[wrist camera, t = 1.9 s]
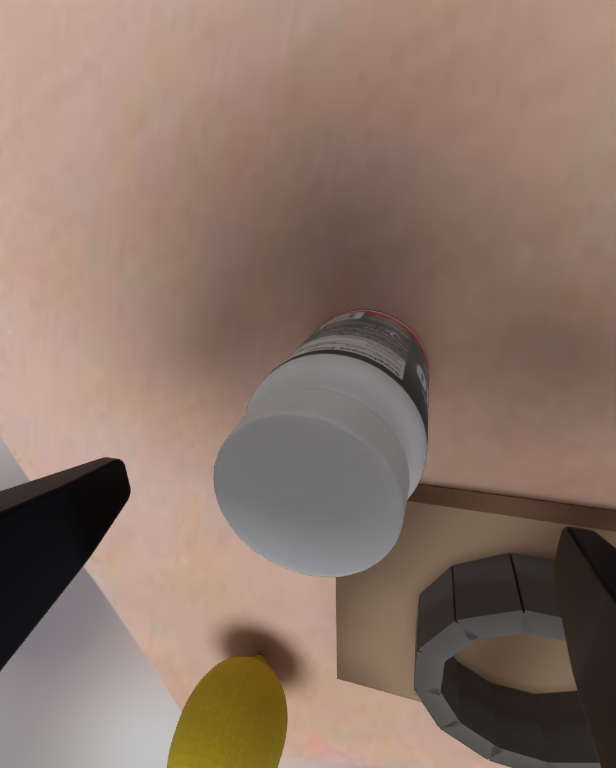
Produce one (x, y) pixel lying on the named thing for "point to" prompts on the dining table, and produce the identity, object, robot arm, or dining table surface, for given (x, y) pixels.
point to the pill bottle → (330, 448)
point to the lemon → (232, 718)
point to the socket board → (423, 559)
